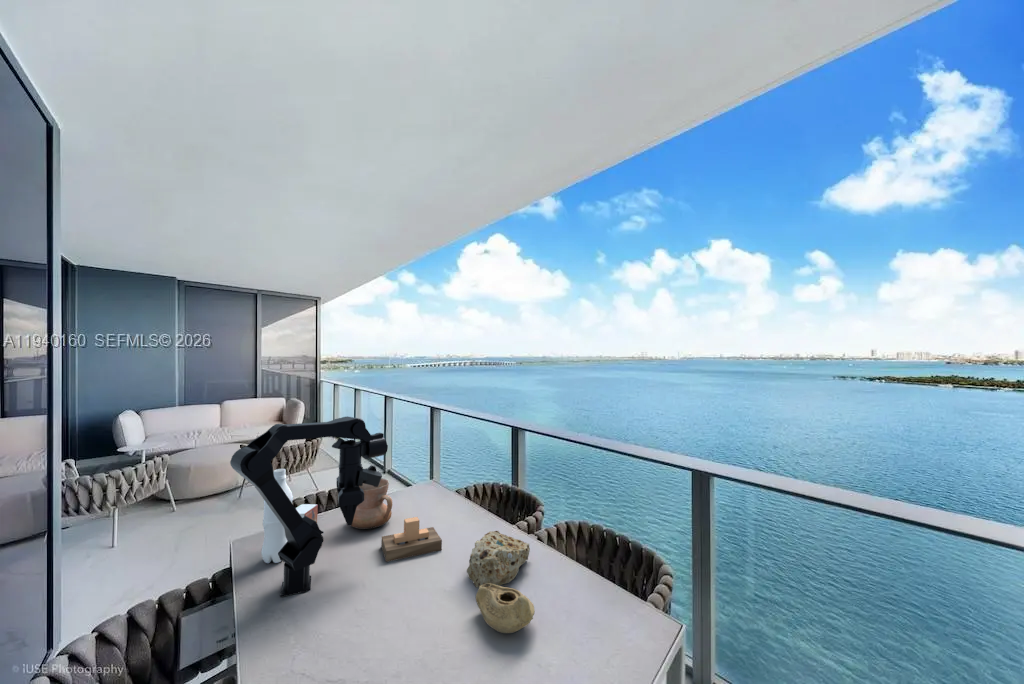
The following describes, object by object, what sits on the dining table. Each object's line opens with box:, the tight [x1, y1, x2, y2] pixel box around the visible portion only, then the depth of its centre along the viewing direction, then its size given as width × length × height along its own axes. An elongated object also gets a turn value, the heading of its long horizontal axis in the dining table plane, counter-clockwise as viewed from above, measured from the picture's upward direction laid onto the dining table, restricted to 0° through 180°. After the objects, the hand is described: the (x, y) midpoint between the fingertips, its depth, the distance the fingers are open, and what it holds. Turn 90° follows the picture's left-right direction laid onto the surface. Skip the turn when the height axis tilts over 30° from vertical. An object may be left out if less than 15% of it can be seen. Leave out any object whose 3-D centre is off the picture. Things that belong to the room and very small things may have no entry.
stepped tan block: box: [393, 516, 429, 545], centre depth 116 cm, size 3×10×8 cm, turn 116°
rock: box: [466, 530, 531, 589], centre depth 104 cm, size 21×14×10 cm
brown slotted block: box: [380, 526, 443, 563], centre depth 116 cm, size 10×16×3 cm, turn 116°
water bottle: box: [261, 468, 294, 564], centre depth 110 cm, size 7×7×25 cm
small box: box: [295, 503, 319, 523], centre depth 119 cm, size 8×6×10 cm
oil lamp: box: [475, 583, 536, 634], centre depth 83 cm, size 11×15×8 cm
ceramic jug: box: [350, 477, 393, 530], centre depth 133 cm, size 18×14×14 cm
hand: (348, 518), depth 107 cm, fingers open, 9 cm apart
